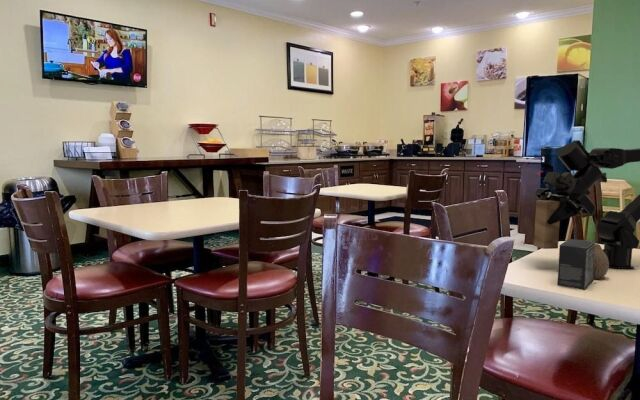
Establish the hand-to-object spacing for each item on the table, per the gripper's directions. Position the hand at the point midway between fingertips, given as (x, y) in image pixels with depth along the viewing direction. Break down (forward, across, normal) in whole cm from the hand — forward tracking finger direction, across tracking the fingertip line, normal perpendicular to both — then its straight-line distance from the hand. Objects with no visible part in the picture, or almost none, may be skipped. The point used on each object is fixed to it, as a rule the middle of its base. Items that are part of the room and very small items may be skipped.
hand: (542, 222), depth 130 cm
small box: (+10, +14, +10) cm, 20 cm away
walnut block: (+4, 0, +6) cm, 7 cm away
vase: (+3, +10, +16) cm, 19 cm away
